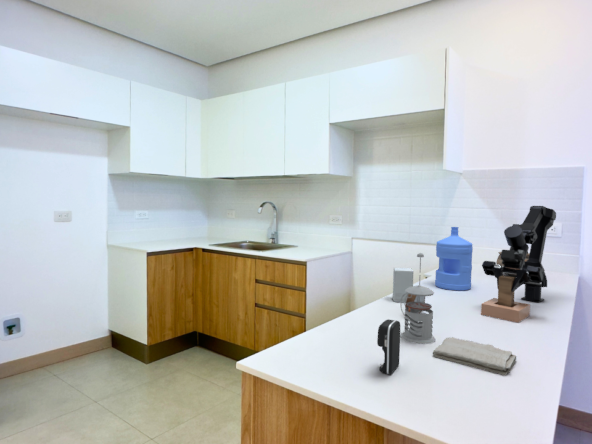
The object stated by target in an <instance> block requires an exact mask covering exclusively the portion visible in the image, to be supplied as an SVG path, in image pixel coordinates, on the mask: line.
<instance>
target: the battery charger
mask: <svg viewBox="0 0 592 444" xmlns="http://www.w3.org/2000/svg"><path fill="white" fill-rule="evenodd" d="M377 329H378V330H377V341H376V342H377V343H376V344H377V346H378V347H381V349H382V351H383V353H384V355H383V356H384V359H383V361H384V362H383V364H382V365H381V366H380V367H379V371H380V372H382V373H384V374H387V375H392V374H393V373H394V372H395V371H396V369H397V368H398V366H399V365H400V349H401V348H400V346H401V345H400V344H401V322H400V320H396V319H385V320H384V321H383V322H381V323H380V325H379V326H378V328H377Z"/></svg>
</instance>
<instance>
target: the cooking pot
mask: <svg viewBox="0 0 592 444" xmlns="http://www.w3.org/2000/svg"><path fill="white" fill-rule="evenodd" d="M501 252H502V251H499V252H498V256H497V258H496V261H495V262H496V264H497V265H501V266H504V264H502V259H501V258H500V257H501ZM529 254H530V252H528V254H527V255H526V258H525V261H527V260H528V259H529ZM504 274H506V276H510V277H515V278H516V274H510V273H504Z"/></svg>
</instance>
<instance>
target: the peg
mask: <svg viewBox="0 0 592 444" xmlns="http://www.w3.org/2000/svg"><path fill="white" fill-rule="evenodd" d="M515 278H516V277H510V276H508V275H503V276H500V277H499V284H498V287H497V299H498V305H502V306H508V307H514V302H515V291H513V292H512V291H511V288H512V285H513V283H514V280H515Z"/></svg>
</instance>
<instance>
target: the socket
mask: <svg viewBox="0 0 592 444" xmlns="http://www.w3.org/2000/svg"><path fill="white" fill-rule="evenodd" d="M480 308H481V309H480V312H481V313H480V315H481V316H484V315H486V317H489V316H490V318H493V319H498V318H499V319H500V320H503V321H507V322H513V323H518V324H519V323H521V322H522V321H524V320H525V319H526V318H528V317H530V315H531V304H529V303H524V302H518V301H514V307H508V306H502V305H498V297H493V298H491V299H489V300H487V301H484V302H482V303H481V306H480Z"/></svg>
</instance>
